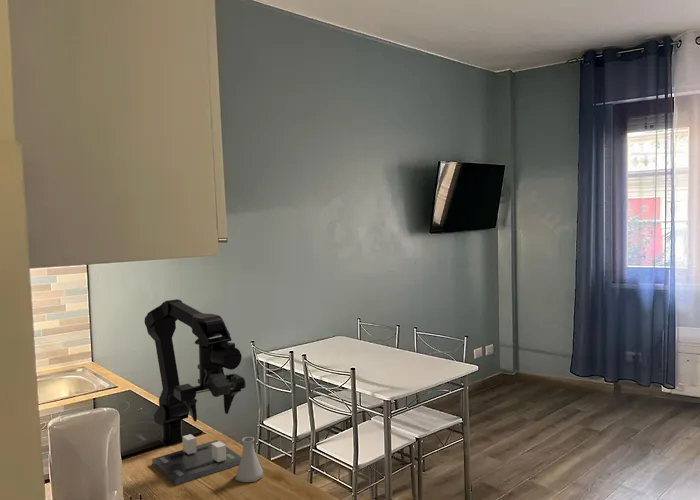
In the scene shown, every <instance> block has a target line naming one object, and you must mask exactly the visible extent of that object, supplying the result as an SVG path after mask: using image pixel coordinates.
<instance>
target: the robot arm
mask: <svg viewBox="0 0 700 500" xmlns="http://www.w3.org/2000/svg"><path fill="white" fill-rule="evenodd" d="M177 321H179V322H181V323H183V324H184V325H186V326H188V327H190V328H191V333H192V334H193V335H194V336H195V337H196V338H197V339H196V340H195V341H194V344H195V345H198V359H199V360H198V363H199V364H197V369H198V370H199V373H198V374H199V378H198V379H197V383H198V385H195V386H193V385H191V384H190V383H185V384H180V378H179V373H178V371H179V370H178V366H177V361H176V354H175V348H174V343H173V336H174V334H175V332H176V329H177V327H176V326H177V325H176V324H177V323H176V322H177ZM144 324H145V327H146V331H147V334H148V335H149V336H150V338H152V339H153V341H154V344H155V350H156V354H157V355H156V356H157V363H158V368H159V373H160V378H161V379H160V380H161V386H162V391H161V393H160V395H159V399H158V406H159V407H158V408H157V410H156V411H155V413H154V414H153V420H154V423H155V424H157V425H159V426H161V437H158V441H159V442H160V443H162V444H163V445H164V446H165V447H168V446H171V445H175V444H178V443H183V438H182V436H183V422H182V421H183V420H185V419H189V415H190V416H191V418H192V420H193V422H194V423H196V422H197V418H198V415H197V403H198V400H197V398H196V397H197V394H201V393H205V392H210V394H211V395H212V397H215V398H218V397H220V396H223V408H224V414H226V415H228V414H229V412H230V409H231V406H232V403H233V400H234V397H235V396H236V395H237V394H238V393H240V392H241V391H242V389H245V388H246V383H247V382H246V379H245V378H244V377H242V376H241V375H239V374H237V373H229V374H225V373H224V369H227V370H230V371H231V370H232V371H233V370H235V369H236V368H238V367H239V366H240V363H241V362H242V358H243V357H242V353H241V351H240V350H239V348H237V347H236V343H234V342H232V337H231V334H230V332H229V330H228V328H227V325H226V324H225V320H223V318H222V316H221V315H218V314H216V313H215V314H213V313H204V312H201V311H199V310H198V309H195V308H193V307H191V306H190V305H188V304H186V303H184V302H183V301H182V300H181V299H178V298H177V299H169V300H164V302H162V303H161V304H160V305H159V306H157V307H156V308H153V309H152V310H150V311H149V312H148V313H146V316H145V317H144Z"/></svg>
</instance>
